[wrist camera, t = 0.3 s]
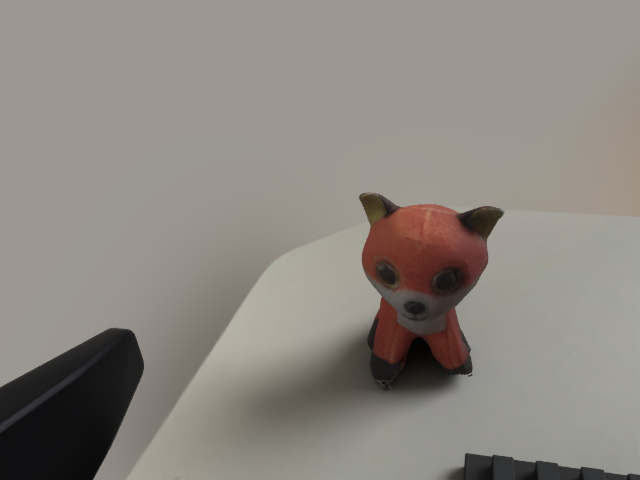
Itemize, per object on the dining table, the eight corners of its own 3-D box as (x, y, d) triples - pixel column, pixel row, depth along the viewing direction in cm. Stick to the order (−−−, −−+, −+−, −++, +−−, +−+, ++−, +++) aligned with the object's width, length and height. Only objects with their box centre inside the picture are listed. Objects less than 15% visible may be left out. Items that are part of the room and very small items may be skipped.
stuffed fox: (487, 297, 40) (500, 141, 34) (488, 417, 31) (506, 234, 25) (384, 289, 42) (379, 140, 36) (356, 400, 33) (343, 227, 27)
